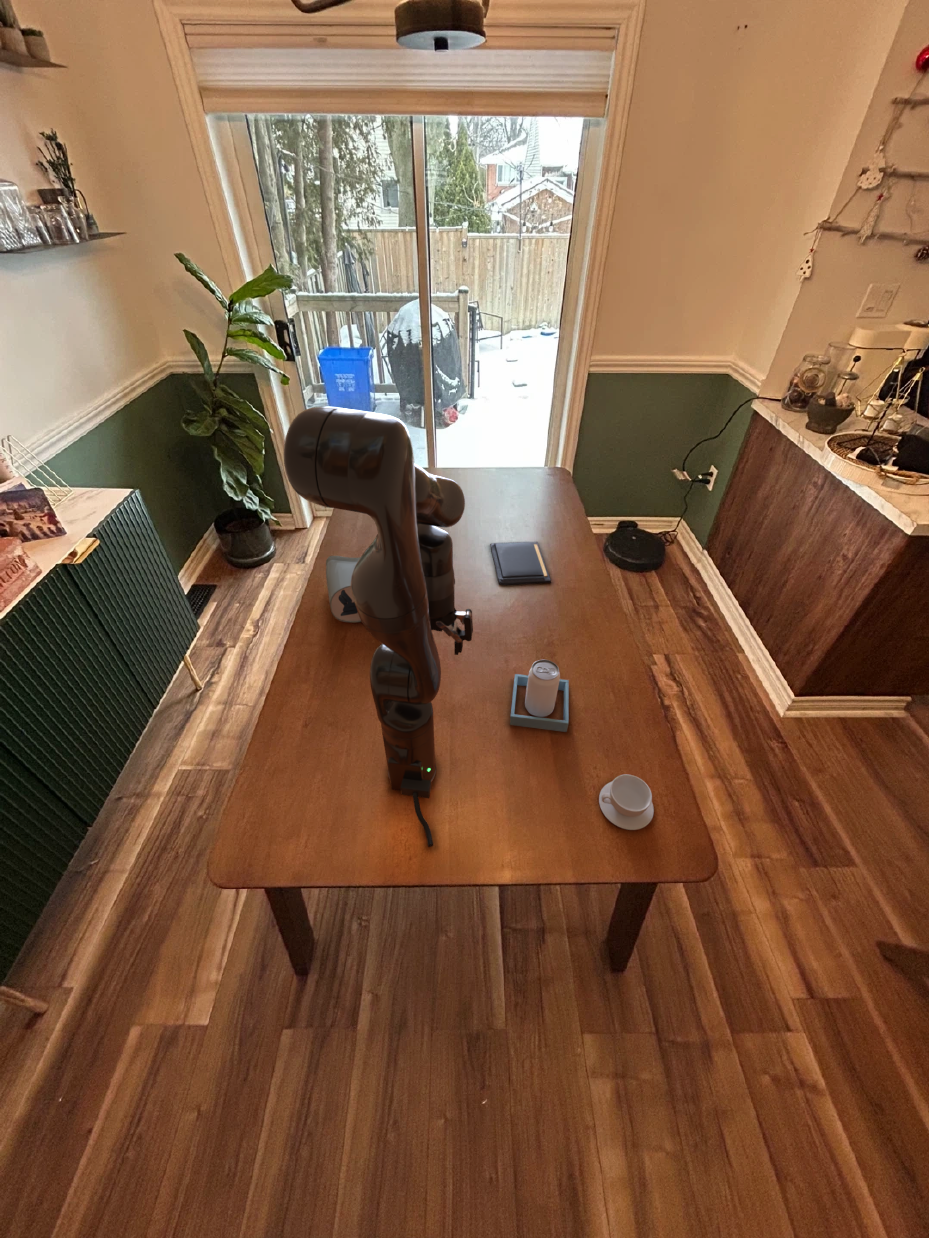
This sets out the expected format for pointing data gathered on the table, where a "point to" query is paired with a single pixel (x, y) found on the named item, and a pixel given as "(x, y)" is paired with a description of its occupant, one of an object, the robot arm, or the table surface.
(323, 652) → the table surface
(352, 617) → the pale blue saddle block
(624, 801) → the teacup
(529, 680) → the can
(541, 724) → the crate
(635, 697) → the table surface
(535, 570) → the wallet
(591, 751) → the table surface
